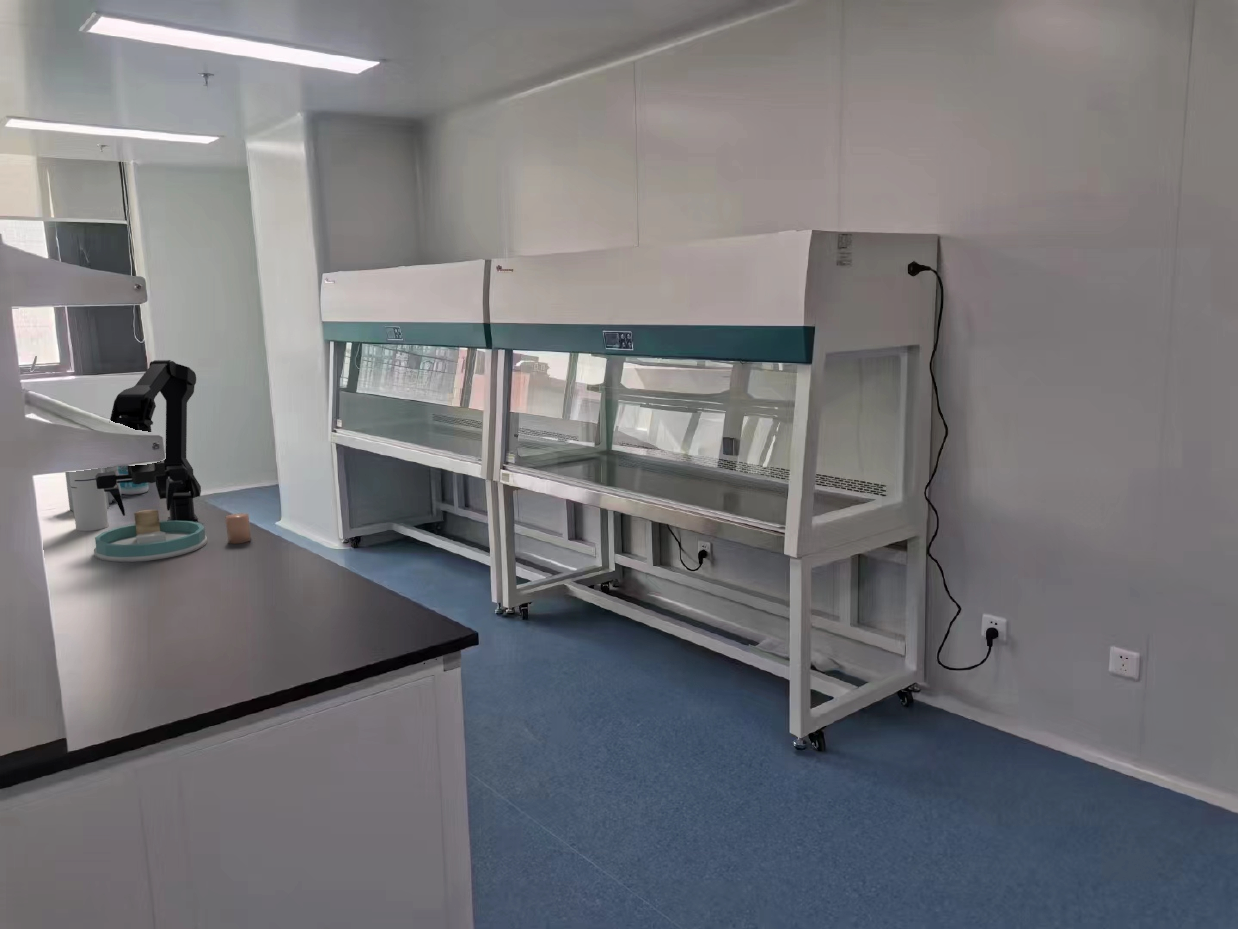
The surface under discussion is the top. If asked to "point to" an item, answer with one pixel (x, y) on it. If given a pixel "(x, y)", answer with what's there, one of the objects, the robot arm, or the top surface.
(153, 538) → the groove tray
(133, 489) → the pill bottle
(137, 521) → the wood cylinder
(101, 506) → the cylindrical container
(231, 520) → the pinkish brown short cylinder
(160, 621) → the top surface
